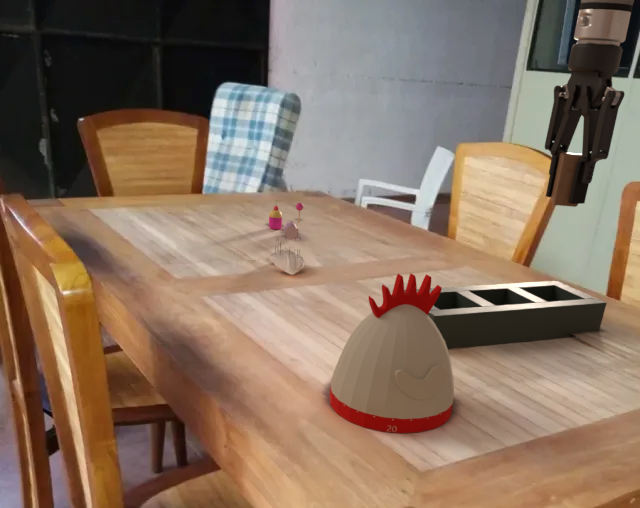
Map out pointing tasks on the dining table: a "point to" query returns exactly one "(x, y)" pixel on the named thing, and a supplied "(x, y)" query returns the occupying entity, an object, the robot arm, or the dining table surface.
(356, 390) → the kitchen timer
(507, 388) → the dining table surface
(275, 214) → the toys
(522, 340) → the socket bar
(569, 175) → the wooden block
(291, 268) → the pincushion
